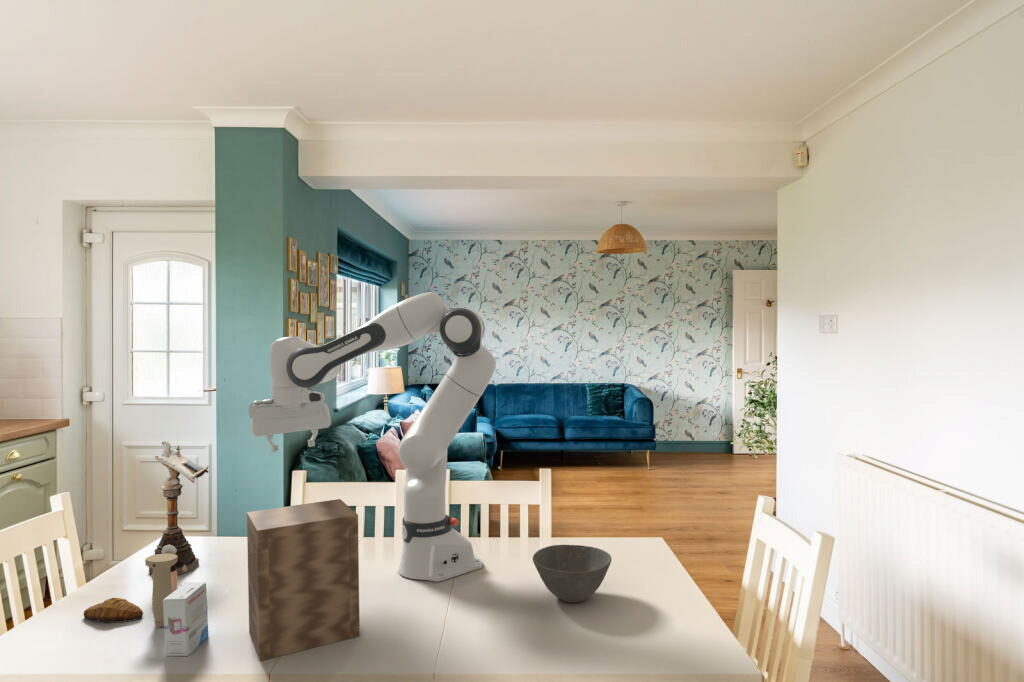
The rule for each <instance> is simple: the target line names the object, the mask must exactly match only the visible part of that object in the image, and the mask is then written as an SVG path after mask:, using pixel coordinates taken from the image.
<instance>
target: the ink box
mask: <svg viewBox="0 0 1024 682" xmlns="http://www.w3.org/2000/svg"><path fill="white" fill-rule="evenodd" d="M207 593H208V591H207V582H206V581H205V582H204V581H203V582H200V581H199V582H185V583H183V584H181V585H180V586H179V587H177V589H176V590H175V591H174V592H173V593H171V594H170V595H169V596H167V597H166V598H165V599H163V614H164V627H163V628H164V630H163V631H164V649H165V652H164V653H165V656H166V657H188V656H190V655H191V654H192V653H193V652H194V651H195V650H196V649H197V648H198V647H199V646H200V645H201V644H202V643H203V642H204V641H205V640H206V639H207V638H208V637H209V619H208V617H209V616H208V596H207V595H208V594H207Z"/></svg>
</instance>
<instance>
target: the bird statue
mask: <svg viewBox="0 0 1024 682" xmlns="http://www.w3.org/2000/svg"><path fill="white" fill-rule="evenodd" d="M161 445H162V446H163V451H162V453H160V455H159V454H157V455H155V456H154V459H155V460H156V461H158V462H160V464H162V465H163V466H164V467H166V468H167V469H168V473H169V476H168V477H166V479H164V481H163V485H162V487H161V490H162V496H163V498H166V500H167V501H166V502H167V511H166V514H165V515H167V526H166V528H165V529H164V530H163V531H162V533H163V534H162V535H161V536H162V537H161V539H160V541H159V542H158V543H159V544H157V545H156V548H155V549H154V551H153V552H154V554H153V555H155V554H162V548H163V547H164V546H166V545H169V544H170V545H173V546H174V547H175V548H176V550H177V552H176V554H175V555H177V559H179V560H181V561H183V562H184V563H185V566H186V568H187V571H185V572H184V571H183V570H182V569H181V568H179V567H176V570H177V575H180V574H184V573H188V572H191V571H193V570H194V569H195V568H197V566H200V565H199V563H200V559H199V558H198V557H196V554H195V553H194V551H193V548H192V544H191V543H189V541H188V540H187V538H186V537H185V534H184V533H183V529H182V528H181V527H180V526H179V525H178V515H179V513H180V511H178V499H179V497H180V496H181V494H182V488H183V487H184V486H183V484H182V483H180V481H181V480H180V478H179V476H180V475H182V476H183V477H185V478H187V480H189V481H190V482H191V483H192V484H195V482H196V479H198V478H200V477H201V478H202V476H203V475H205V473H206V474H208V473H209V470H208V469H209V467H210V466H209V465H206V466H205V467H203V466H201V465H199V464H197V463H196V462H193V461H192V460H190V459H188V458H187V457H186V456H183V455H182V454H181V452H180V450H182V449H183V448H181V447H180V444H178V445H177V447H176V448H175V450H176V451H175V450H173V449H171V448H172V447H171V444H170V442H169V441H166V440H162V442H161ZM148 573H150V574H151V575H152V573H153V569H152V568H150V567H148Z"/></svg>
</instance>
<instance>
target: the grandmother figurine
mask: <svg viewBox="0 0 1024 682" xmlns="http://www.w3.org/2000/svg"><path fill="white" fill-rule="evenodd" d="M176 552H177V550H176V548H175V547H174V546H173V545H170V544H169V545H166V546H164V547H163V548H162V554H176ZM176 567H179V568H181V569H182V570H183V571H184V572H185V571H187V568H186V566H185V563H184V562H183V561H181V560H179V559H177V562H176V563H175V564H174V565H173V566H171V567H170V574H171V586H172V593H173V592H174V591H175V590H176V589H178V574H177V570H176ZM185 573H186V572H185ZM150 578H151V579H153V573H152V574H151V575H150Z"/></svg>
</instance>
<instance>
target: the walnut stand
mask: <svg viewBox="0 0 1024 682" xmlns="http://www.w3.org/2000/svg"><path fill="white" fill-rule="evenodd" d="M246 530H247V531H246V533H247V538H246V539H247V580H248V581H247V583H248V585H247V587H248V589H247V590H248V592H247V594H248V631H249V635H250V637H251V640H252V644H253V647H254V649H255V652H256V654H257V658H258V661H259V662H262V661H266V660H270V659H274V658H279V657H283V656H287V655H291V654H294V653H297V652H301V651H305V650H310V649H314V648H317V647H321V646H322V647H323V646H327V645H330V644H333V643H337V642H341V641H347V640H350V639H354V638H358V637H360V635H361V634H360V632H361V631H360V579H359V578H360V573H359V571H360V570H359V569H360V567H359V566H360V563H359V562H360V561H359V560H360V559H359V557H360V555H359V515H358V513H356V511H354V510H353V509H352V507H350V506H349V505H348V504H347V503H345V502H344V501H343V500H342V499H341V498H338V499H330V500H324V501H323V500H322V501H316V502H311V503H310V502H309V503H304V504H303V503H302V504H296V505H295V504H294V505H289V506H282V507H273V508H267V509H260V510H253V511H247V512H246Z"/></svg>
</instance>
